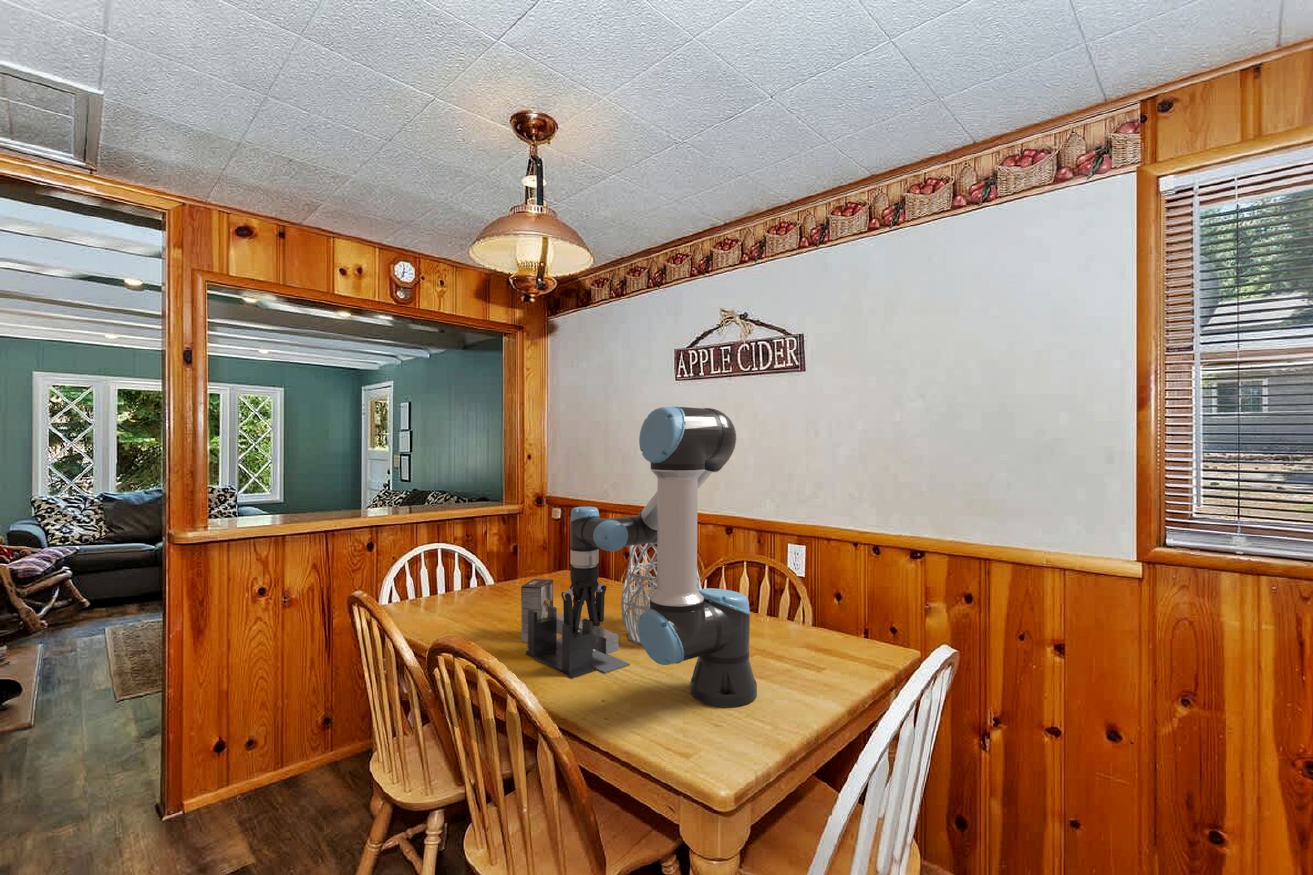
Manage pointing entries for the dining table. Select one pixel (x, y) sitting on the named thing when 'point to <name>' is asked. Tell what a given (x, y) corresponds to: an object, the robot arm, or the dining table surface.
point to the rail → (596, 637)
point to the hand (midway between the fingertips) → (584, 651)
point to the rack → (574, 646)
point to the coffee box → (535, 601)
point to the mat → (601, 660)
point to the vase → (639, 590)
